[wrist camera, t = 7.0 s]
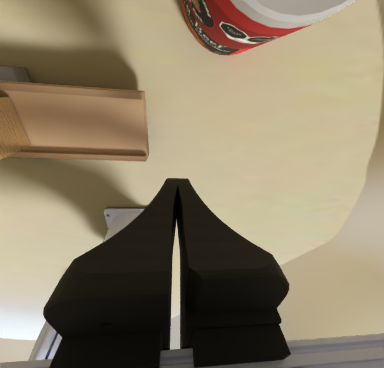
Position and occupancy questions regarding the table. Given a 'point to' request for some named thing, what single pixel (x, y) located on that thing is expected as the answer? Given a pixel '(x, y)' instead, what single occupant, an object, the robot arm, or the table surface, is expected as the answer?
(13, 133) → the block
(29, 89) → the beam
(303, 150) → the table surface
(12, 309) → the table surface
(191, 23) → the canned food
